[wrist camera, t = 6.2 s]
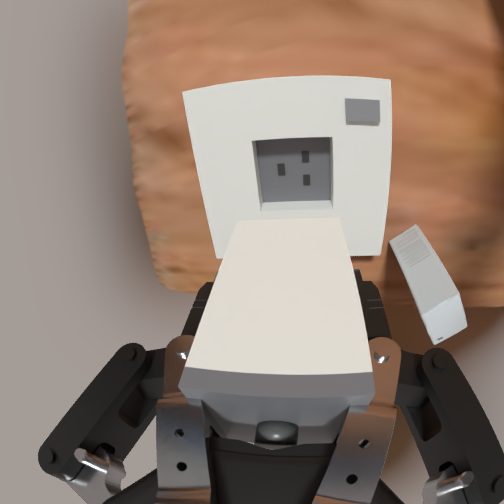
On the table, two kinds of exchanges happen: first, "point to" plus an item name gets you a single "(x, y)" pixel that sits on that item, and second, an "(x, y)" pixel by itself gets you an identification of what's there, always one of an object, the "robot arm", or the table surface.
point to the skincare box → (429, 285)
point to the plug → (282, 335)
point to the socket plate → (294, 153)
